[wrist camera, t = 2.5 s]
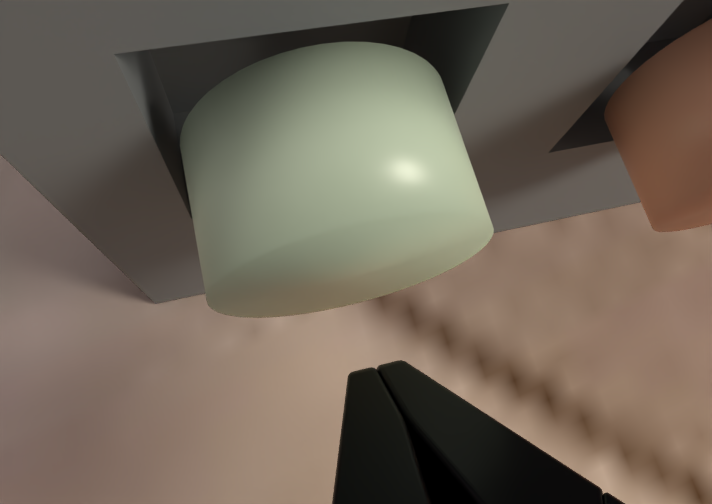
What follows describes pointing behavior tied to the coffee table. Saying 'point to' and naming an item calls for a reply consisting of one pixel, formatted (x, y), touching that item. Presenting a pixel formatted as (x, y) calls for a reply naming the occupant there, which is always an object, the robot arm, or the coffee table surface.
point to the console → (292, 31)
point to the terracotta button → (669, 131)
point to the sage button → (328, 181)
